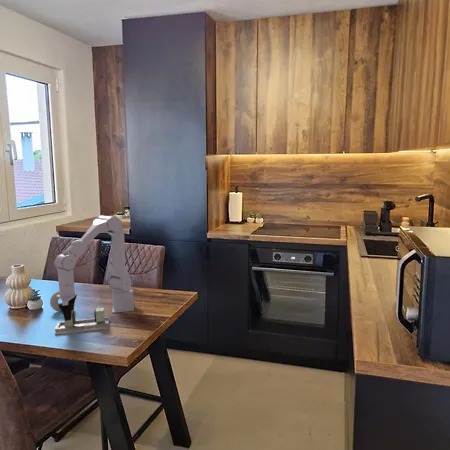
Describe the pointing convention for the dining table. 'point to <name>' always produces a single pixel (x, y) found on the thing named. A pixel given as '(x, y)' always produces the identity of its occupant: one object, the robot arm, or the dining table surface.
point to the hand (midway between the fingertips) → (69, 316)
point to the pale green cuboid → (70, 322)
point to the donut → (55, 301)
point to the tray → (85, 324)
